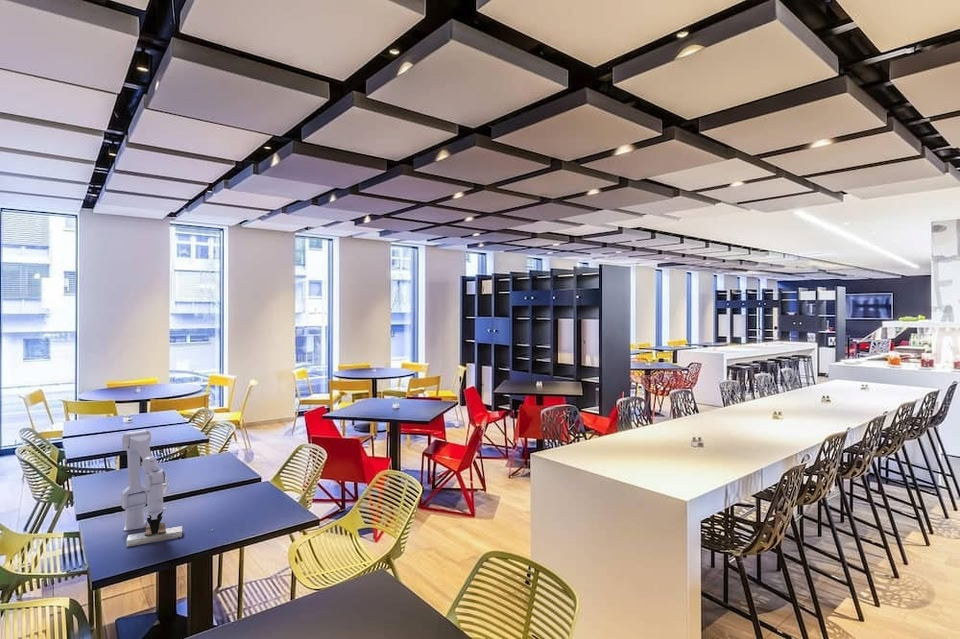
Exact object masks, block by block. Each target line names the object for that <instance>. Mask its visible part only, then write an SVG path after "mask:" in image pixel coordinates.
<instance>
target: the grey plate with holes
mask: <svg viewBox="0 0 960 639" xmlns="http://www.w3.org/2000/svg"><path fill="white" fill-rule="evenodd" d="M178 537H180V538H183V526H182V525H180V526H174V527H173V526H172V527H169V528H165V532H164V533H163V534H161V532H160V533H157V534H151V536H147V535H146V531H144V532H139V533H131V534H128V535H127V538H126V548H128V547H133V546H139V545H146V544H150V543H157V542H162V541H167V540H172V539H173V540H174V539H179V538H178Z"/></svg>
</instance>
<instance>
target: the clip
mask: <svg viewBox="0 0 960 639" xmlns="http://www.w3.org/2000/svg"><path fill="white" fill-rule="evenodd" d="M165 529H166V522H165V521H163V522H160V525H159V530H158V533H160V532H161V534H163V533H164V532H165ZM145 532H146V535H147V536H151V534H152V533H151V529H150V525H149V524H147V525H146V524H145Z"/></svg>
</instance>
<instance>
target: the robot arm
mask: <svg viewBox="0 0 960 639" xmlns="http://www.w3.org/2000/svg"><path fill="white" fill-rule="evenodd" d="M151 439H152V434H151V430H149V429H144V430H138V431H137V430H135V431H131V432H124V434H123V435H122V438H121V440H122V442H121V443H122V449H123V451H126V455H127V475H128V476H127V479H128V486H127V487H126V488H125V489H124V490H123V491H121V496H120V505H121V508H122V509H123V510H125V512H124V513H125V516H124V517H125V524H124V528H123V532H127V531H133V530H138V529H139V530H140V529H144V528H146V523H147V524H148V525H150V529H151V533H152V534H157V533H158V530H159V525H160V523H162V519H163V518H164V517H163V513H164V511H167V507H164V483H165V482H166V473H165V470H164V469H162V467H160V466H159V463H158V461H157V458H156V457H154V456H152V452H151V448H150V444H151ZM141 460H142V461H141ZM141 468H142V469H141ZM141 470H143V473H144V475H145V476H144V483H145V485H142V475H141V473H142V472H141ZM145 507H147V510H146V514H147V515H148V517H147V518H146V519H145Z"/></svg>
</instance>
